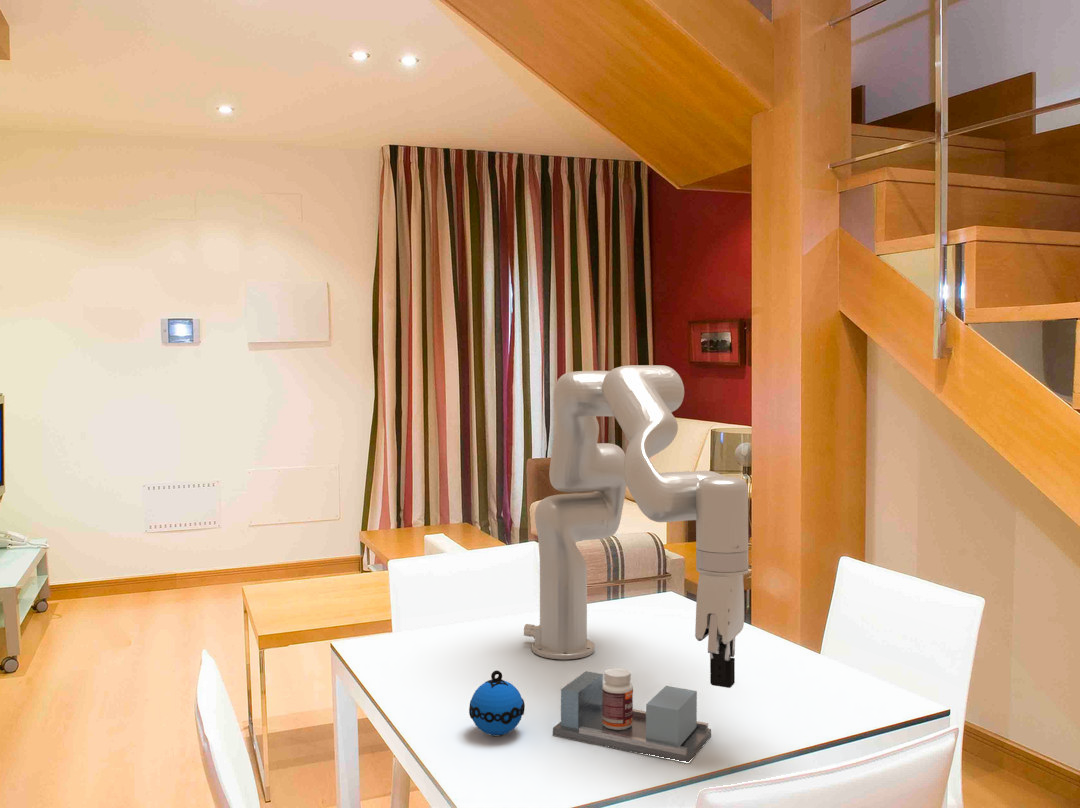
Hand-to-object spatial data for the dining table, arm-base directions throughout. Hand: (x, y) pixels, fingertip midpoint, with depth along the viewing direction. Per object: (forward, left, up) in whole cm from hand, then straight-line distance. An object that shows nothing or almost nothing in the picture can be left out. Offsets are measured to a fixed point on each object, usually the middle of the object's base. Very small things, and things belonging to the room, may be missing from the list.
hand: (722, 684), depth 134 cm
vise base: (-14, 0, -11) cm, 18 cm away
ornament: (-33, -9, -11) cm, 36 cm away
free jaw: (-8, 0, -9) cm, 12 cm away
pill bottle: (-17, +1, -10) cm, 19 cm away
